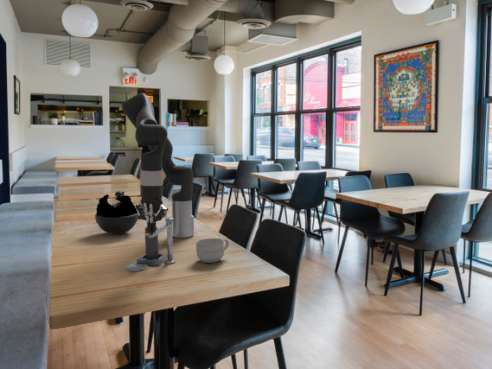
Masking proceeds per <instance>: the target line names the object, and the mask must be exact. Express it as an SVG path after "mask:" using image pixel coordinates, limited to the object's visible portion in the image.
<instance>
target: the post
mask: <svg viewBox="0 0 492 369" xmlns="http://www.w3.org/2000/svg"><path fill="white" fill-rule="evenodd" d="M169 224H170V227H169V228H167V229H166V243H167V245H166V248H167V251H166V252H167V257H168V259H167V260H165V261H164V263H165V265H166V264H168V265H172V264H175V263H176V259H174V255H173V254H174V249H173V248H174V247H173V246H174V244H173V242H174V241H173V232H172V231H173V225H172V221H169Z"/></svg>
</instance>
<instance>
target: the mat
mask: <svg viewBox="0 0 492 369" xmlns="http://www.w3.org/2000/svg"><path fill="white" fill-rule="evenodd" d="M148 268H149V265H147V264H137V262H136V263H131V264H128V265H126V266H125V270H126V271H128V272H141V271H140V270H142V271H145V270H147V269H148ZM144 269H145V270H144Z"/></svg>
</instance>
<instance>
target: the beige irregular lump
mask: <svg viewBox="0 0 492 369" xmlns="http://www.w3.org/2000/svg"><path fill="white" fill-rule="evenodd" d="M114 196H115V198H118V197H119V196H121V197H122V196H125V191H119V190H118V191H116V192H115V193H114ZM121 203H122V202H120V201H117V202H116V203H112V204H111V205H112V206H114V207H115V208H116V207H117V206H118V205H119V204H121Z"/></svg>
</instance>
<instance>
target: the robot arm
mask: <svg viewBox="0 0 492 369" xmlns="http://www.w3.org/2000/svg"><path fill="white" fill-rule="evenodd" d="M121 108H122V111H123V113H124V114H125V115H126V117H127V119H128V120H129V121H130V122H131V124H132V126H134V128H135V132H134V133H135V141H136V143H138V144H139V145H141V146H147V147H148V149H149V151H148V152H147V151H146V152H144V153H142V154H141V156H140V176H139V177H140V178H139V179H140V180H139V181H140V182H139V183H140V185H139V186H140V188H139V189H140V190H139V191H140V194H139V195H140V196H139V197H141V199H140V202H139V203H138V204H135V205H134V206H135V208H136V209H137V212H138V213H139V214H138V215H139V216H140V217H141V220H144V221H146V227H147V231H148V233H153V232H154V231H156V227H157V222H159V221H162V219H163V218H164V216H165V215H166V214H167V212H168V211H169V208H168V207H165V206H164V205H163V204H164V202H163V200H162V198H163V195H164V194H163V193H164V192H163V191H164V190H163V189H164V181H163V180H164V179H163V178H164V175H163V173H164V174H165V176H166V179H167V181H168V182H169V184H171V185H173V186H179V187H180V190H179V191H177V192H175V193H172V195H171V210H172V211H171V212H172V213H171V215H172V217H171V218H174V221H172V238H173V237H174V238H177V239H178V238H179V239H184V238H185V239H186V238H190V237H192V236H193V235H194V236H195V219H194V218H195V216H194V215H193V208H192V207H193V203H192V202H193V200H192V199H193V193H194V189H193V188H194V171H193V168H192V167H190V166H188V165H177V164H176V163H175V162H174V161H173V158H172V156H173V152H174V151H173V149H174V148H173V144H172V142H171V141H170V138H169V137H168V134H169V133H168V130H167V128H166V126H165V125H164V124H163V125H162V124H158V122H157V120H156V118H155V109H154V105H153V103H152V101H151V99H150V98H149V97H148V95H146V94H145V93H144V92H140V93H138V94H136V95H133V96H131V97H130V98H128V99H126V100H124V102H122V104H121Z"/></svg>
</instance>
